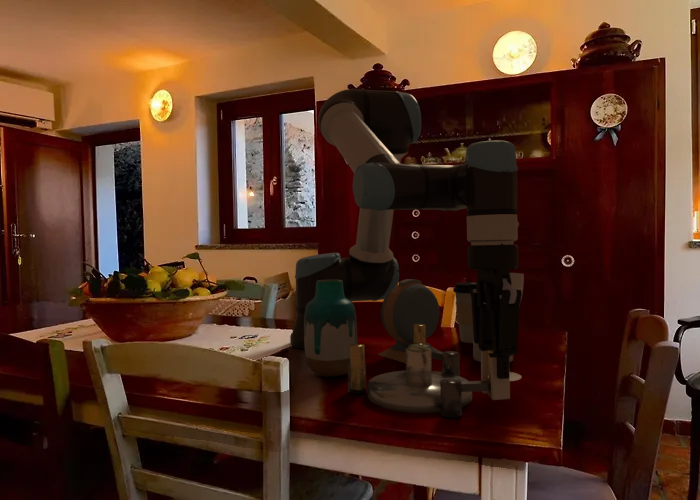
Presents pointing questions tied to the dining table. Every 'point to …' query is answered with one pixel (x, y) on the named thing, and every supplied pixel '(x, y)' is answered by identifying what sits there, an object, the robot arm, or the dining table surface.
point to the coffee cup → (464, 311)
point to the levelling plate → (408, 395)
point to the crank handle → (448, 358)
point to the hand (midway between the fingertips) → (495, 394)
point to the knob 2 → (460, 392)
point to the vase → (329, 329)
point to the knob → (357, 369)
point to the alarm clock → (408, 315)
